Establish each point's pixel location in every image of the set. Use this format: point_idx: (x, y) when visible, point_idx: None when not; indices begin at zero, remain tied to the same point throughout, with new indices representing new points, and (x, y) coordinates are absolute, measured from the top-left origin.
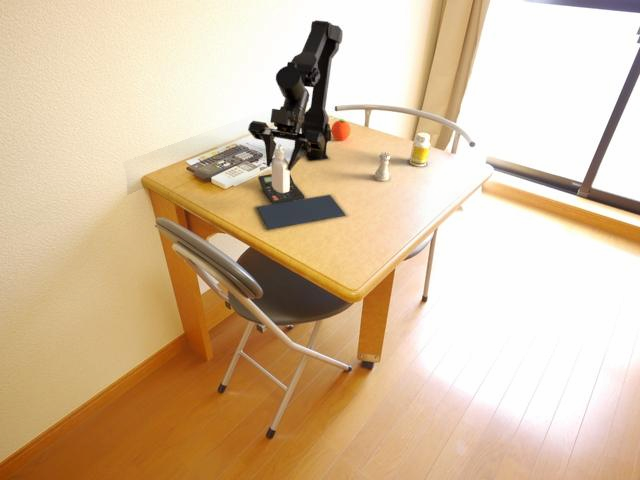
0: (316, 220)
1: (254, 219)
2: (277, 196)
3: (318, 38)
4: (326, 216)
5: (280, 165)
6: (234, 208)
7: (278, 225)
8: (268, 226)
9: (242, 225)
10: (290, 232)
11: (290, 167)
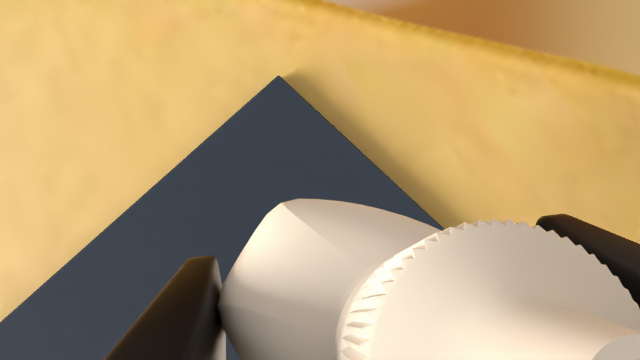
0: (42, 286)
1: (396, 129)
2: None
3: None
4: None
5: (331, 204)
6: (559, 173)
7: (239, 122)
8: (285, 90)
9: (418, 56)
10: (154, 109)
11: (174, 282)
